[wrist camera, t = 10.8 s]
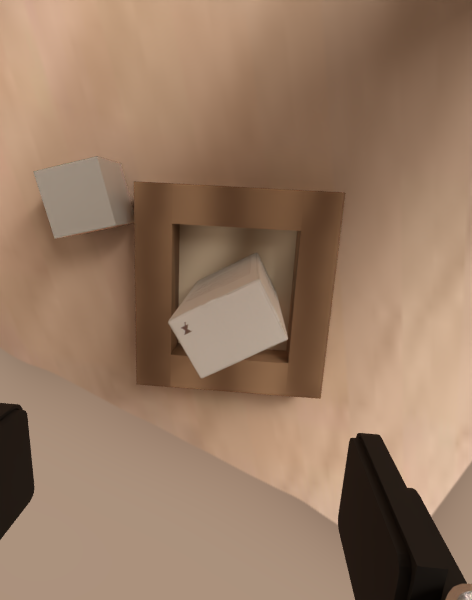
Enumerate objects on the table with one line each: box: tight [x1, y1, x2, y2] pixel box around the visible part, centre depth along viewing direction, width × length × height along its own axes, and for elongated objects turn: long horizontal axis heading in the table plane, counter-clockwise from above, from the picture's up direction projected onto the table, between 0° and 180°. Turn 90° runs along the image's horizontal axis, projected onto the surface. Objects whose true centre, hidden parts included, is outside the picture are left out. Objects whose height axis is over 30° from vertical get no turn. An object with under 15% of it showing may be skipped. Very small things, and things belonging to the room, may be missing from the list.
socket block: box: [134, 182, 345, 398], centre depth 32 cm, size 16×17×4 cm
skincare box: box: [168, 253, 288, 378], centre depth 28 cm, size 6×4×12 cm
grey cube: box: [33, 156, 134, 239], centre depth 30 cm, size 5×5×5 cm
